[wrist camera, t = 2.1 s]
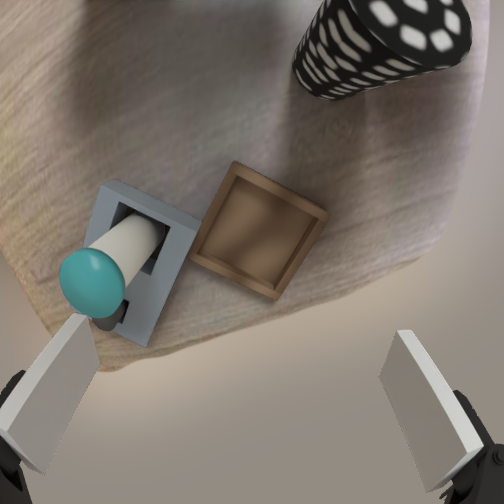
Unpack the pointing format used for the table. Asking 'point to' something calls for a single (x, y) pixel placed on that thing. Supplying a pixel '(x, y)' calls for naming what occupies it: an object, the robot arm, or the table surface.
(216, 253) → the tray
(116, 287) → the ball
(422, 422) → the robot arm
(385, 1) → the spotted tube
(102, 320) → the plunger
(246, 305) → the table surface
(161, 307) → the housing
